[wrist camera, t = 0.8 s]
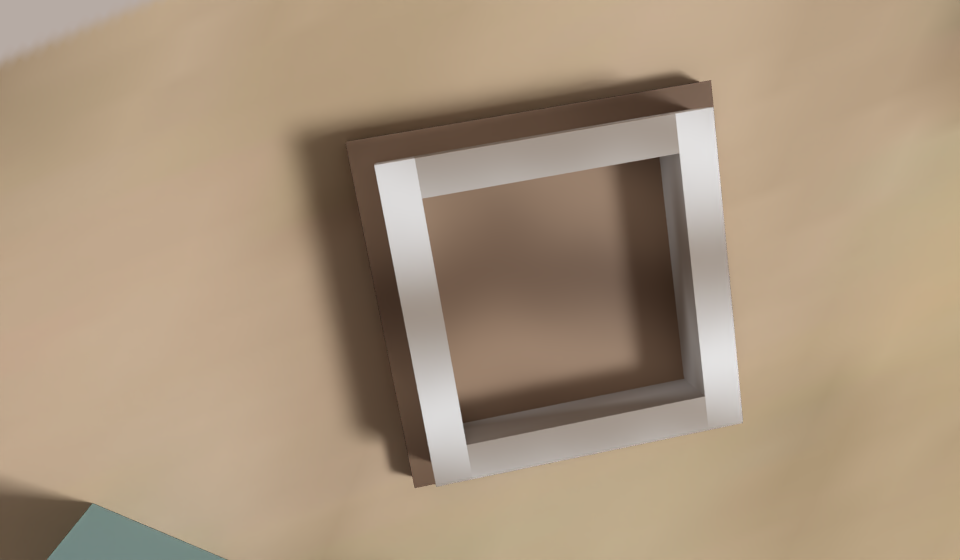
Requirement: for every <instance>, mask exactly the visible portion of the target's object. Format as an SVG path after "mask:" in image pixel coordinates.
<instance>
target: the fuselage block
mask: <svg viewBox="0 0 960 560" xmlns="http://www.w3.org/2000/svg"><path fill="white" fill-rule="evenodd" d="M47 560H226V559H224V558H221V557H219V556H217V555H214V554H212V553H210V552H207V551H205V550H202V549H200V548H198V547H195V546H193V545H191V544H188V543H186V542H183V541H181V540H179V539H176V538H174V537H171V536H169V535H167V534H164V533H162V532H160V531H157V530H155V529H152V528H150V527H148V526H145V525H143V524H141V523H138V522H136V521H133V520H131V519H129V518H126V517H124V516H122V515H119V514H117V513H114V512H112V511H110V510H107V509H105V508H102V507H100V506H98V505H95V504H92V505H91V506H90V507H89V508H88V510H87V511H86V512H85V513H84V515H83V516H82V517H81V518H80V520H79V521H78V522H77V523H76V524H75V526H74V527H73V528H72V529H71V531H70V532H69V533H68V534H67V535H66V537H65V538H64V539H63V540H62V542H61V543H60V544H59V545H58V547H57V548H56V549H55V550H54V551H53V553H52V554H51V555H50V556H49V558H48V559H47Z"/></svg>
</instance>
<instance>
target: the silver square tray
mask: <svg viewBox="0 0 960 560" xmlns="http://www.w3.org/2000/svg"><path fill="white" fill-rule="evenodd" d="M345 143H346V148H347V153H348V158H349V163H350V168H351V173H352V178H353V183H354V188H355V193H356V198H357V203H358V208H359V213H360V218H361V223H362V228H363V232H364V237H365V242H366V247H367V252H368V257H369V262H370V267H371V272H372V277H373V282H374V287H375V292H376V297H377V302H378V307H379V312H380V317H381V322H382V327H383V332H384V337H385V342H386V347H387V352H388V357H389V362H390V367H391V372H392V377H393V382H394V387H395V392H396V397H397V402H398V407H399V412H400V417H401V422H402V427H403V432H404V437H405V442H406V447H407V452H408V457H409V462H410V467H411V472H412V477H413V482H414V487H415V488H417V487H422V486H427V485H432V484H436V487H437V486H442V485H447V484H452V483H456V482H461V481H466V480H471V479H476V478H480V477H485V476H490V475H495V474H500V473H505V472H509V471H514V470H519V469H524V468H529V467H533V466H538V465H543V464H548V463H553V462H557V461H562V460H567V459H572V458H577V457H581V456H586V455H591V454H596V453H601V452H605V451H610V450H615V449H620V448H625V447H629V446H634V445H639V444H644V443H649V442H654V441H658V440H663V439H668V438H673V437H678V436H682V435H687V434H692V433H697V432H702V431H706V430H711V429H716V428H721V427H726V426H730V425H735V424H740V423H743V415H742V405H741V394H740V384H739V373H738V362H737V352H736V341H735V330H734V320H733V309H732V299H731V288H730V277H729V267H728V256H727V245H726V235H725V224H724V214H723V203H722V192H721V182H720V171H719V161H718V150H717V139H716V129H715V118H714V107H713V97H712V86H711V80H709V81H703V82H698V83H692V84H686V85H680V86H674V87H668V88H662V89H656V90H650V91H644V92H638V93H632V94H626V95H620V96H614V97H608V98H603V99H597V100H591V101H585V102H579V103H573V104H567V105H561V106H555V107H549V108H543V109H537V110H531V111H525V112H519V113H513V114H508V115H502V116H496V117H490V118H484V119H478V120H472V121H466V122H460V123H454V124H448V125H442V126H436V127H430V128H424V129H418V130H412V131H407V132H401V133H395V134H389V135H383V136H377V137H371V138H365V139H359V140H353V141H347V142H345Z"/></svg>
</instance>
